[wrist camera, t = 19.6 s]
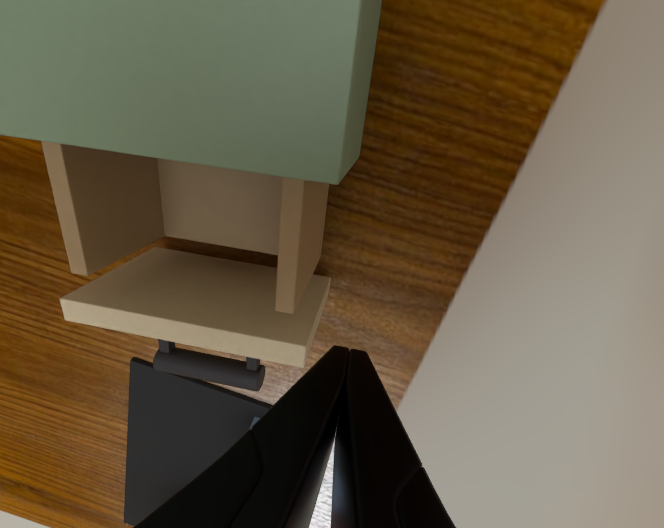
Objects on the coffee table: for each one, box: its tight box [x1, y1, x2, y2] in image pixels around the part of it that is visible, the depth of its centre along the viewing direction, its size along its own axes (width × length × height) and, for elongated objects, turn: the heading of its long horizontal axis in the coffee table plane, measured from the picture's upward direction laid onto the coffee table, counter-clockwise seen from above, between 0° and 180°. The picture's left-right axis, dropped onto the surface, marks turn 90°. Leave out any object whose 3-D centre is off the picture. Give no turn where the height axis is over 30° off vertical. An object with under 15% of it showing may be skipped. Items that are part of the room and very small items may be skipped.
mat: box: [124, 358, 272, 526], centre depth 31 cm, size 16×24×1 cm, turn 163°
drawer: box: [41, 141, 331, 391], centre depth 16 cm, size 18×11×7 cm, turn 173°
